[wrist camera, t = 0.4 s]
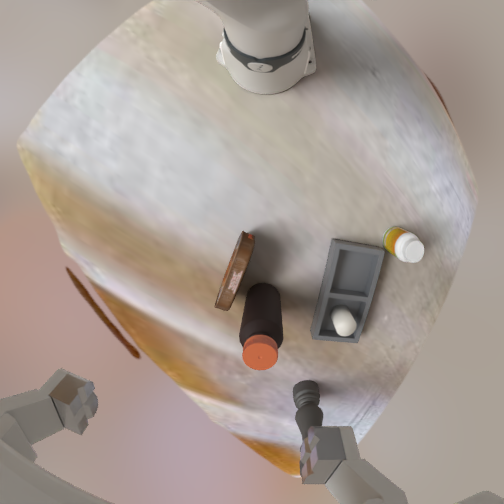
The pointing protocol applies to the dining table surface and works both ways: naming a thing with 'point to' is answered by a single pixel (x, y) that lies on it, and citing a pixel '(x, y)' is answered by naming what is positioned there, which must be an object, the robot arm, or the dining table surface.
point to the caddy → (347, 287)
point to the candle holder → (307, 408)
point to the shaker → (343, 320)
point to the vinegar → (261, 327)
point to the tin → (235, 271)
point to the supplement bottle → (403, 244)
